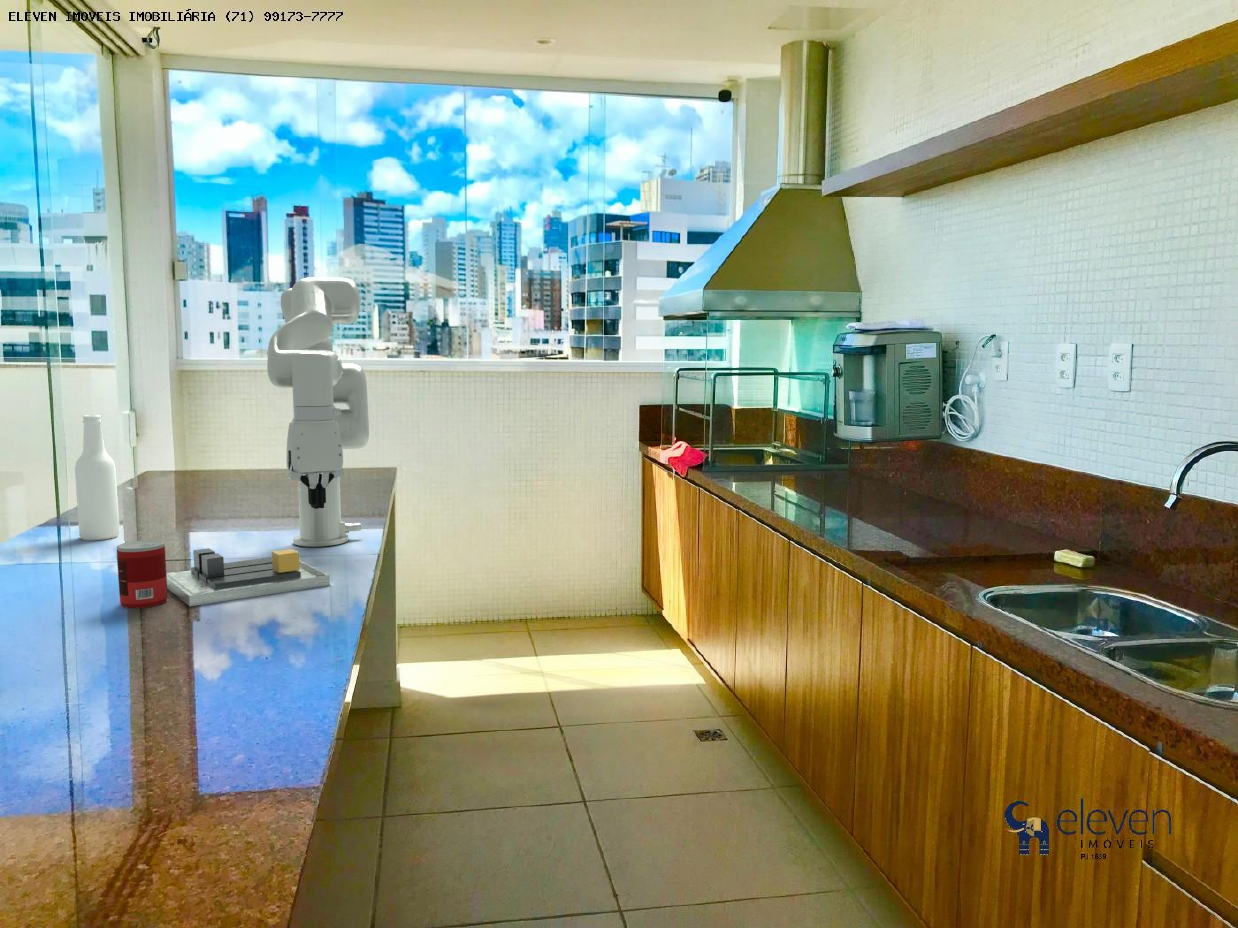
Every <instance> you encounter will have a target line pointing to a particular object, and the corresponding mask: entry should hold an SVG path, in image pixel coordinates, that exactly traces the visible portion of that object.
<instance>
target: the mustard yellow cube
mask: <svg viewBox="0 0 1238 928" xmlns="http://www.w3.org/2000/svg"><path fill="white" fill-rule="evenodd" d="M271 557H272V569H273V570H275V571H277V572H279V573H281V572H288V571H295V570H300V561H301V560H300V552H299V551H297V550H295V549H293V548H288V549H281V550H273V551H271ZM299 560H300V561H299Z"/></svg>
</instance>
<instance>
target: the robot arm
mask: <svg viewBox="0 0 1238 928" xmlns="http://www.w3.org/2000/svg"><path fill="white" fill-rule="evenodd" d="M280 309H281V313H282V316H283V319H284V322H285V323H284V324H283V325H281V326H280V327H279V328H277V330H276V331H274V333H273V334H272V336H271V337H270V339H269V342H268V348H267V360H266V361H267V364H266V365H267V368H266V369H267V370H266V371H267V375H268V379H269V381H270V383H271V384H272V385H273V386H275V387H277V388H282V389H284V388H285V389H286V388H288V389H289V388H291V389H292V400H293V401H292V403H293V406H292V407H293V417H292V420H291V422H289V423H288V430H287V439H286V459H285V460H286V468H287V470H288V474H287V477H288V479H289V480H292V481H297V493H298V494H297V495H298V512H299V513H298V516H299V518H298V519H299V535H298V536H295V537H294V538H293V539H292V540H293V543H292V544H294V545H296V546H300V547H307V548H308V547H309V548H311V547H312V548H313V547H330V546H338V545H341V544H344V543H347V542H348V541H349V535H348V534H349V532H359V531H361V530H362V524H361V522H353V523H352V522H345V521H342V514H341V513H342V510H341V509H342V508H341V484H340V483H341V482H340V481H341V479H340V477H342V476H344V470H343V467H344V453H343V452H344V451H343V450H357V449H359V450H360V449H362V448H364V447H366V446H367V444H368V442H369V440H370V439H369V437H370V424H369V423H370V422H369V421H370V420H369V403H368V402H369V401H368V400H369V399H368V386H367V376H366V374H365V372H364V369H363V368H362V367H361V366H360V365H359V364H355V363H342V360H341V358H339V356H338V355H337V353H335V352H333V347H334V346H333V342H332V341H331V340H332V339H331V338H330V336H331V335H332V332H333V327H334V326H333V325H351V324H355V323H356V322H357V320H358V319H359V316H360V312H361V311H360V309H361V295H360V290H359V287H358V286H357V283H356V282H355V281H353V280H352V279H350V278H345V277H304V278H301V279H300V280H297V281H296V282H295V283H294V284H293V286H292V287H291V288H290V287H289V288H287V289H285V290H284V291H282V293H281V295H280ZM334 404H335V405H336V404H340V405H341V404H342V405H346V406H347V407H348V408H344V409H343V408H342V409H341V408H340V407H338V408H337V407H335V405H334Z"/></svg>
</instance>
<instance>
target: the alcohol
mask: <svg viewBox="0 0 1238 928" xmlns="http://www.w3.org/2000/svg"><path fill="white" fill-rule="evenodd" d="M82 419H83V420H82V424H83V441H82V442H83V445H82V449H83V450H82V453H81V455H80V456H79V457H78V459H77V460H76V462H75V466H74V475H75V489H76V491H75V493H76V505H77V507H76V508H77V521H78V533H79V534H78V537H80V538H81V539H82V540H83V541H95V542H96V541H104V540H105V541H106V540H111V539H110V538H112V539H114V538H115V537H116V538H117V537H118V536H119V535H120V533H121V530H120V515H119V513H120V512H119V499H118V484H117V470H116V469H117V468H116V464H115V460H114V459H113V458H112V457H111V456H110V454H108V452H107V450H106V446H105V441H104V435H103V428H102V416H101V414H85V415H83V416H82ZM116 538H115V539H116Z"/></svg>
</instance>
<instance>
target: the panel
mask: <svg viewBox="0 0 1238 928" xmlns="http://www.w3.org/2000/svg"><path fill="white" fill-rule="evenodd" d="M192 551H193V553H192V554H193V566H192V567H190V570H185V571H184V570H183V571H177V572H175V571H172V572H166V574H167V590H169V591H170V592H172V594H174V595H176V597H178V599H180V600H181V601H182V602H184V603H185V604H186V605H187V606H188V607H196V606H202V605H208V604H209V605H210V604H214V603H220V602H227V601H235V600H242V599H248V598H253V597H261V596H267V595H275V594H279V593H287V592H292V591H295V592H296V591H301V590H307V589H312V588H314V589H315V588H320V587H325V586H327V587H328V586H331V578H330V577H331V576H330V574H328V573H326V572H324V571H322V570H320V569H318V568H316V567H314V566H313V565H310V564H308V563H306V562H304V561H302V560H301V559H299V561H300V570H295V571H288V572H281V573H279V572H277V571H275V570H273V569H272V556H271V557H263V558H262V557H261V558H256V559H246V560H239V561H231V562H225V561H224V556H223V555H221V554H219V553H216V552H215V551H214V550H213V549H211V548H209V547H208V548H201V549H194V550H193V549H192Z"/></svg>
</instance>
